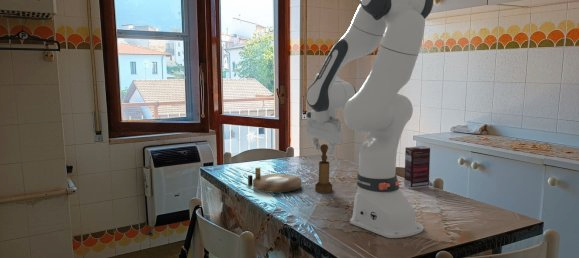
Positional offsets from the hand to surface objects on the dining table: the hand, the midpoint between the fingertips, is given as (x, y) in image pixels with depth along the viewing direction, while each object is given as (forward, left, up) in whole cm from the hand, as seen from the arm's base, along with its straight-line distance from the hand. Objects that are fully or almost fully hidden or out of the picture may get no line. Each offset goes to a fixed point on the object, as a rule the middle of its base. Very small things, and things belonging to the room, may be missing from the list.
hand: (323, 151), depth 157 cm
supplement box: (-14, -35, -16) cm, 41 cm away
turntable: (+11, +14, -15) cm, 24 cm away
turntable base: (+13, +15, -15) cm, 25 cm away
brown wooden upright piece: (0, 0, -16) cm, 15 cm away
